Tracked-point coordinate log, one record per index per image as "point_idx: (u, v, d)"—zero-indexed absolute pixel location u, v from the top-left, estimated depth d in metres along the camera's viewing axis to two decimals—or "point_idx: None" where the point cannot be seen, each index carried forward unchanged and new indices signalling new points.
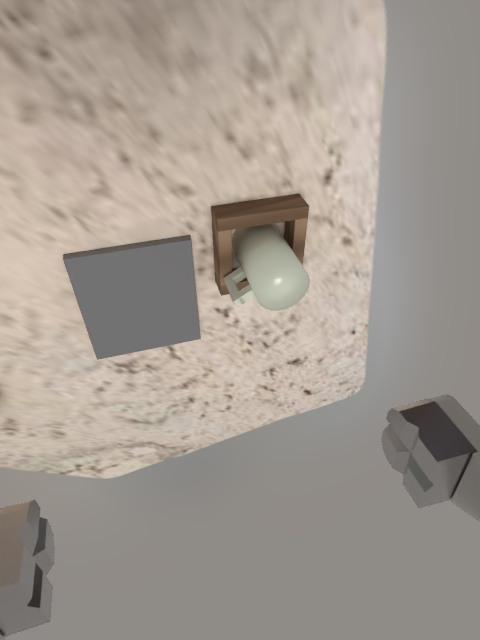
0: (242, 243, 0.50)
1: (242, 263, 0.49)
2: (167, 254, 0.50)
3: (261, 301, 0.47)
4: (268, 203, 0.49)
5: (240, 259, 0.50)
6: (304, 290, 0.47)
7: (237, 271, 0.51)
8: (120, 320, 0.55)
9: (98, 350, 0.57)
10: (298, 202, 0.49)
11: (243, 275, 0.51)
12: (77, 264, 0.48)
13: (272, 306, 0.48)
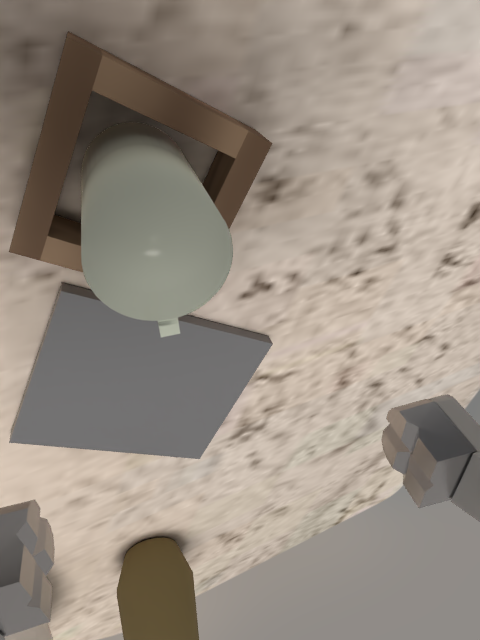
0: None
1: None
2: (70, 332, 0.29)
3: (166, 312, 0.19)
4: None
5: None
6: (205, 210, 0.17)
7: None
8: (155, 420, 0.36)
9: (186, 453, 0.40)
10: None
11: None
12: (26, 433, 0.33)
13: (199, 296, 0.19)
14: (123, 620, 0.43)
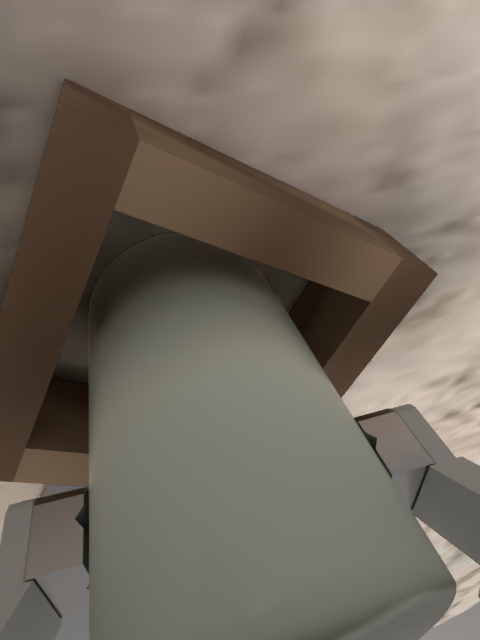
0: None
1: None
2: None
3: None
4: None
5: None
6: (420, 579, 0.06)
7: None
8: None
9: None
10: None
11: None
12: None
13: None
14: None
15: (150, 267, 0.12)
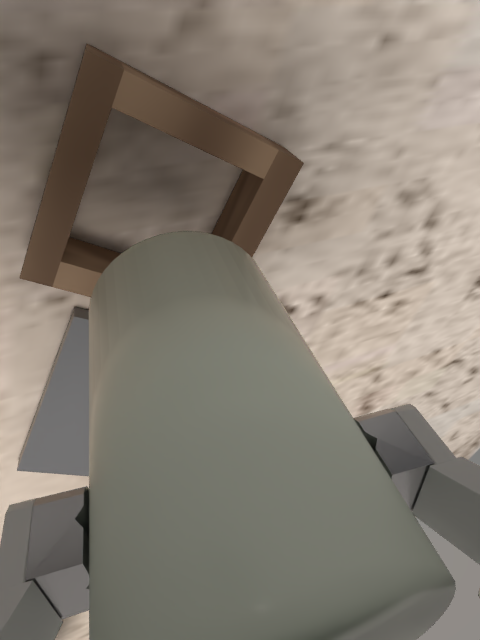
0: None
1: None
2: (83, 359, 0.27)
3: None
4: None
5: None
6: (420, 577, 0.06)
7: None
8: None
9: None
10: None
11: None
12: (34, 460, 0.31)
13: None
14: None
15: (150, 267, 0.12)
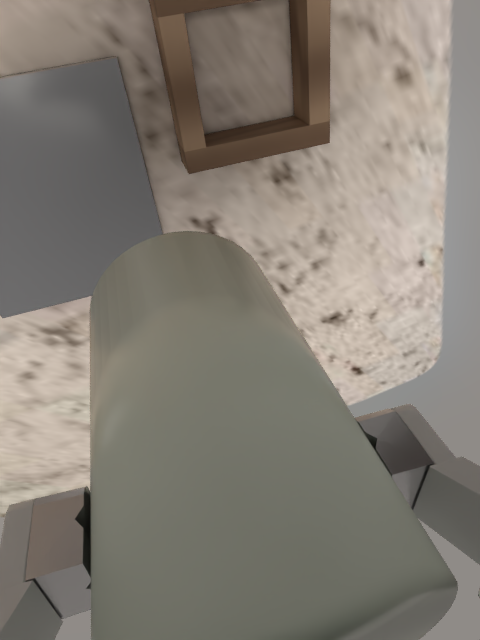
0: None
1: None
2: (77, 91, 0.27)
3: None
4: None
5: None
6: (422, 578, 0.06)
7: None
8: (23, 239, 0.32)
9: None
10: None
11: None
12: None
13: None
14: None
15: (151, 267, 0.12)
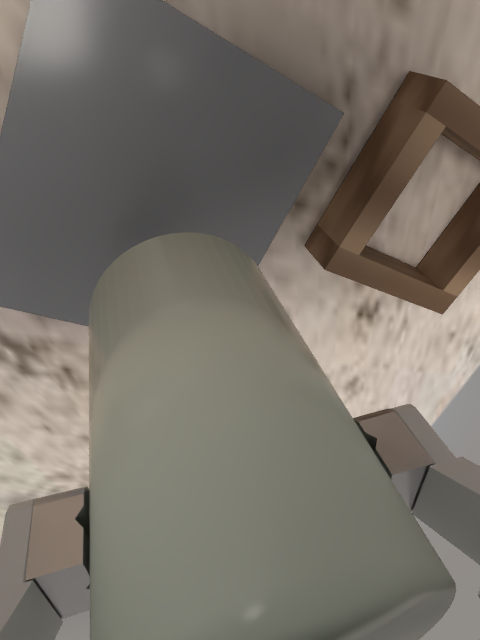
0: None
1: None
2: (283, 113, 0.21)
3: None
4: None
5: None
6: (420, 579, 0.06)
7: None
8: (83, 222, 0.22)
9: None
10: None
11: None
12: None
13: None
14: None
15: (150, 268, 0.12)
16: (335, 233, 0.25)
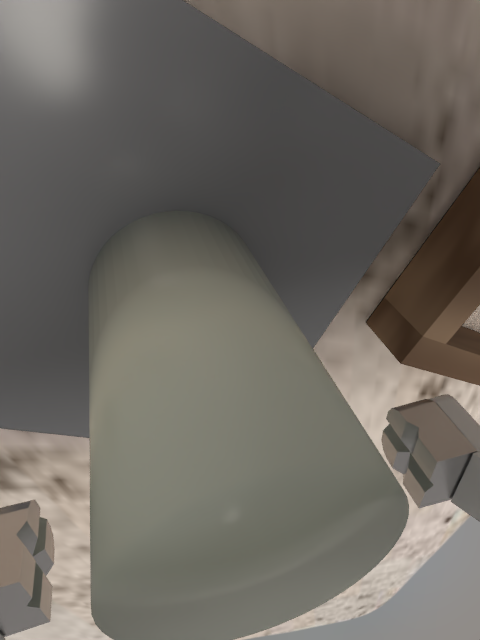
0: None
1: None
2: (360, 167, 0.15)
3: (258, 626, 0.10)
4: None
5: None
6: (373, 487, 0.07)
7: None
8: (79, 317, 0.15)
9: None
10: None
11: None
12: None
13: (323, 594, 0.10)
14: None
15: (145, 241, 0.13)
16: (414, 315, 0.19)
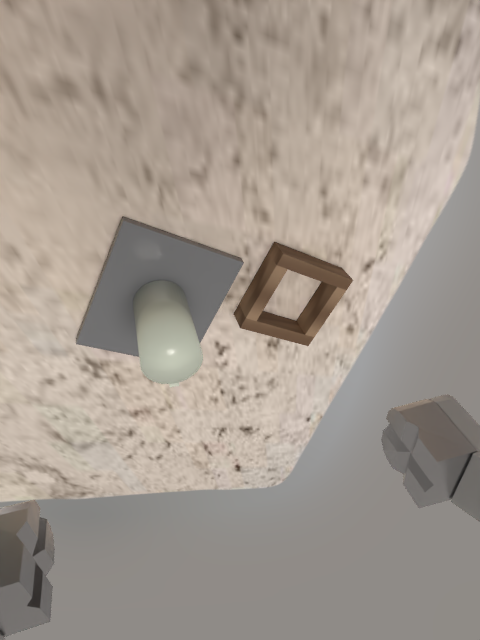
0: None
1: None
2: (215, 265, 0.49)
3: (173, 380, 0.44)
4: (320, 262, 0.52)
5: None
6: (191, 343, 0.41)
7: None
8: (129, 311, 0.49)
9: (84, 334, 0.50)
10: (344, 273, 0.53)
11: None
12: (132, 232, 0.44)
13: (188, 374, 0.44)
14: None
15: (151, 290, 0.47)
16: (245, 311, 0.53)
